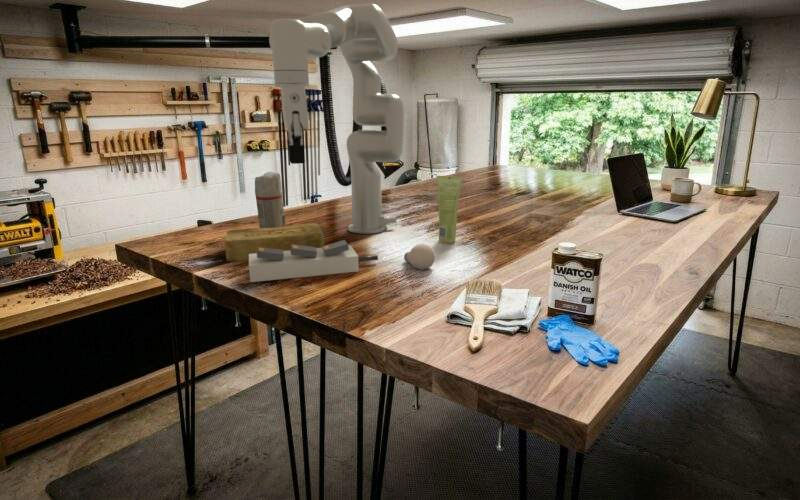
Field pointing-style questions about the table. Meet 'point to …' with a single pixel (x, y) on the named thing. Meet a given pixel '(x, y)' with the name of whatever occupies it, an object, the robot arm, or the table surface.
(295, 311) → the table surface
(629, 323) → the table surface
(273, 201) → the grey cylinder
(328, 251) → the block
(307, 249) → the plate
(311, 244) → the brick
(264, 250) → the block
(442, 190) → the tube
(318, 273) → the power strip
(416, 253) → the light bulb
